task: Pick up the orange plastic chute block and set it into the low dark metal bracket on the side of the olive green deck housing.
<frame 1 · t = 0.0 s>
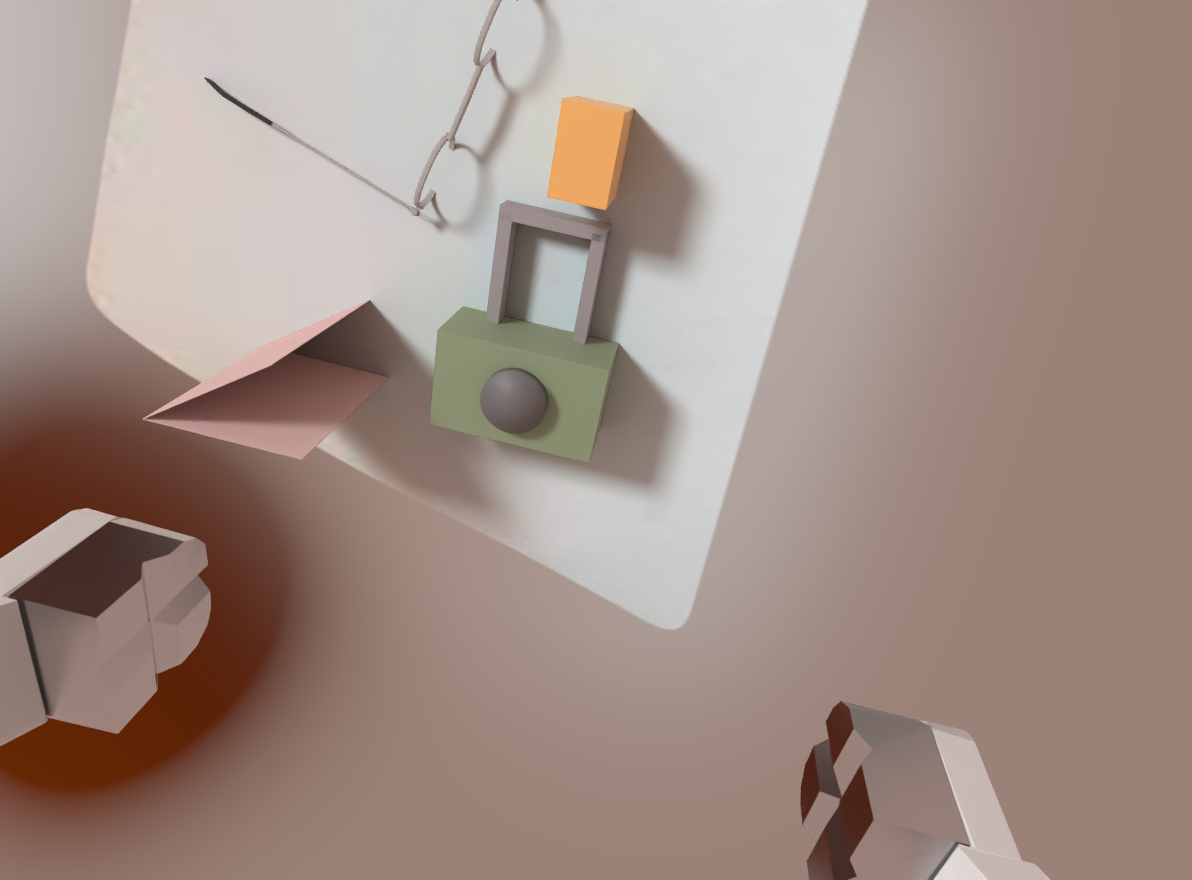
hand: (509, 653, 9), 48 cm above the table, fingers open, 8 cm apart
greeting card: (327, 330, 61), on the table
eyeglasses: (362, 31, 51), on the table
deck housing: (540, 324, 58), on the table
chute block: (597, 147, 51), on the table
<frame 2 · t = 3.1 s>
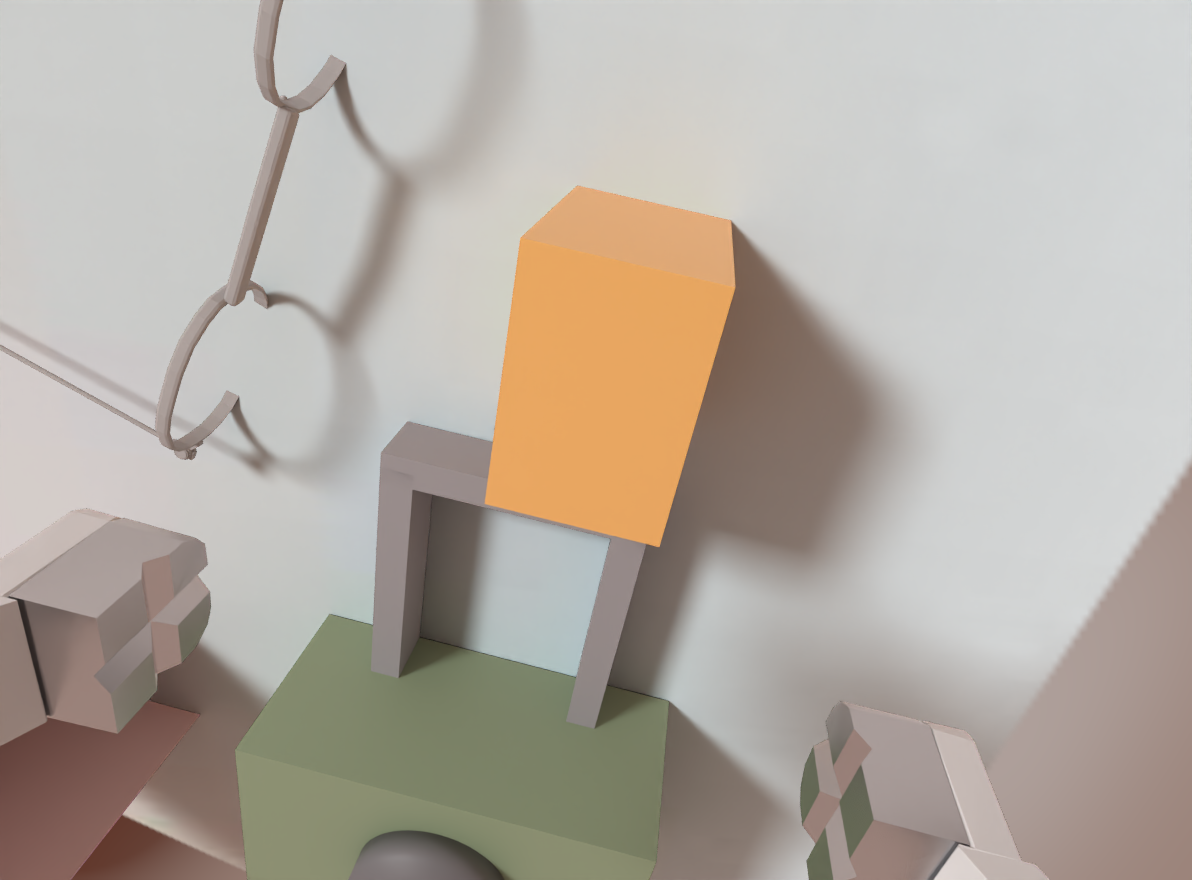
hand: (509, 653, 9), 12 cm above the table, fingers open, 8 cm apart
greeting card: (67, 630, 30), on the table
eyeglasses: (1, 8, 19), on the table
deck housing: (497, 657, 27), on the table
chute block: (629, 313, 20), on the table
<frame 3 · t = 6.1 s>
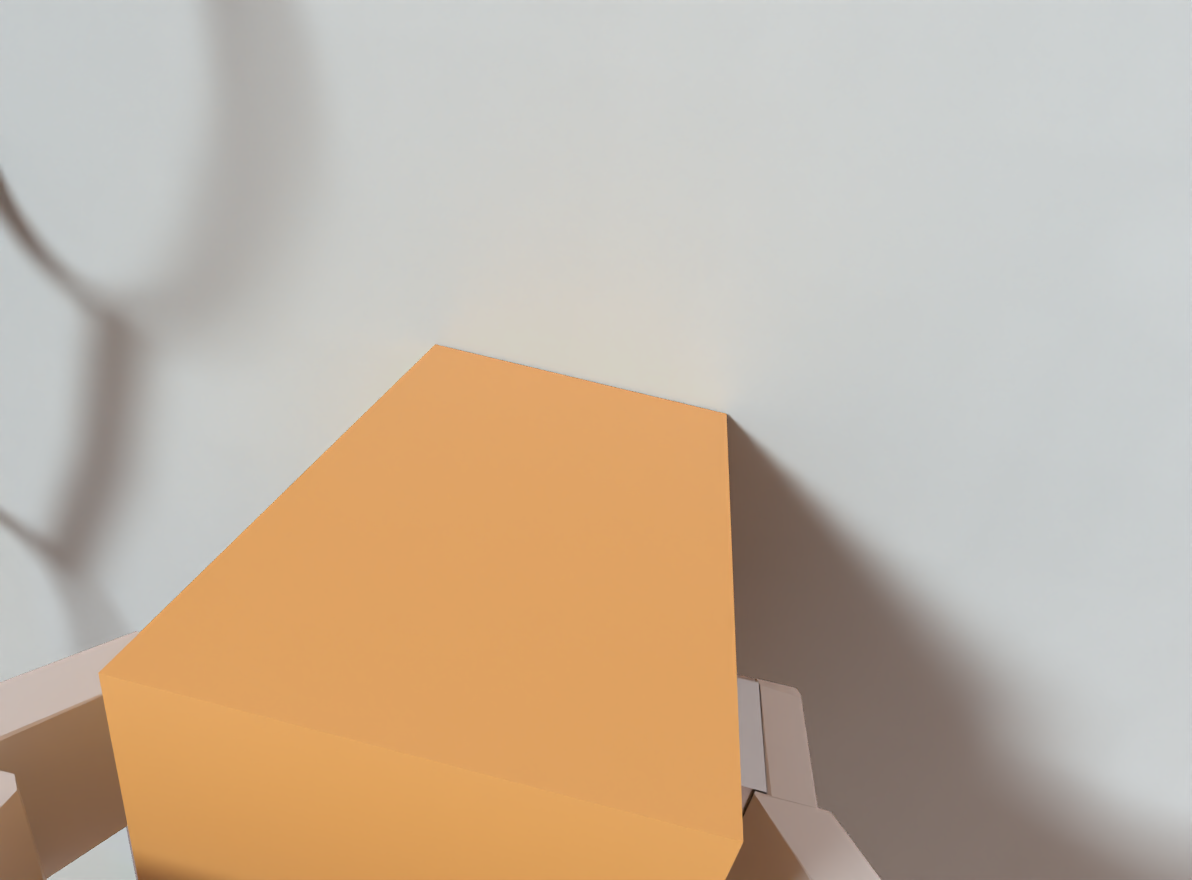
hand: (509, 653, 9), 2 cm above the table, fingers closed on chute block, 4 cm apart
chute block: (544, 555, 11), on the table, touching gripper
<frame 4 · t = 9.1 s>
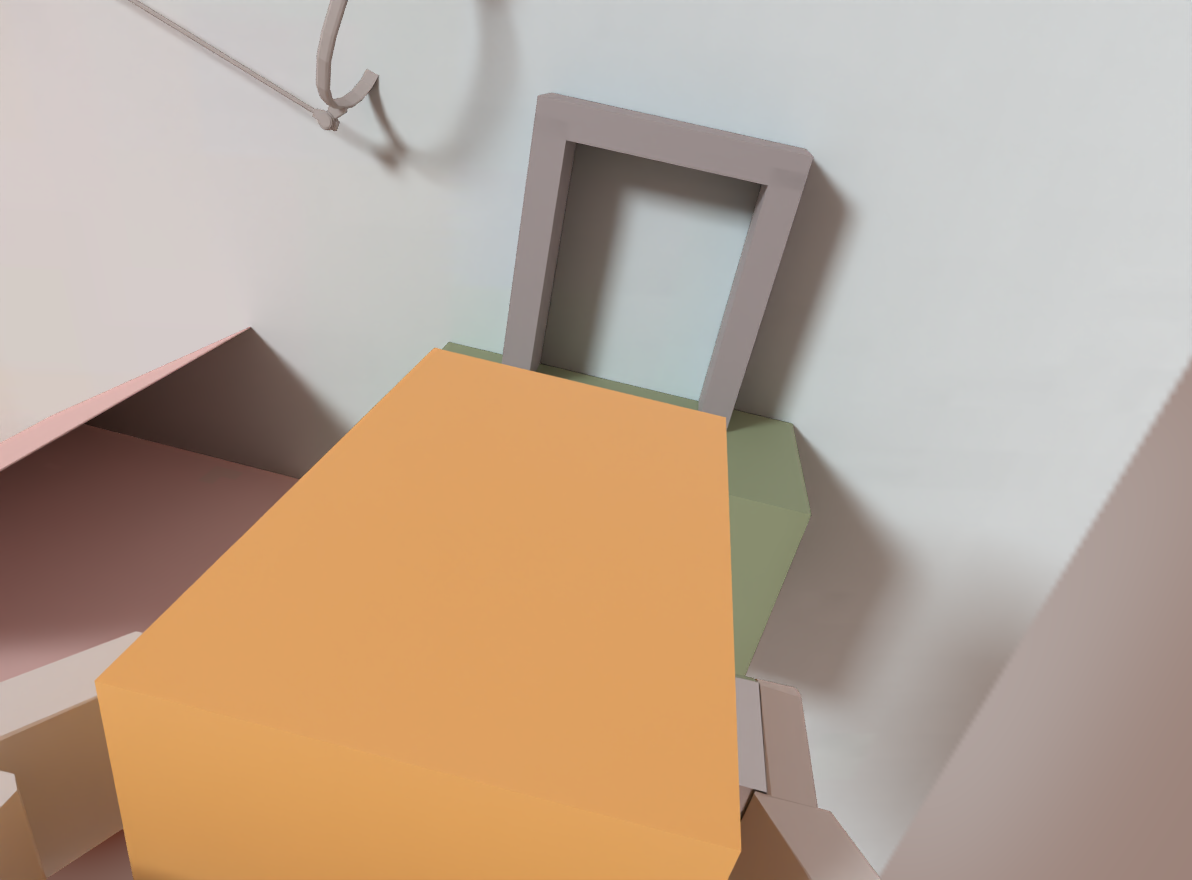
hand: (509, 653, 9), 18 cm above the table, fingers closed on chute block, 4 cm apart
greeting card: (173, 387, 30), on the table
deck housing: (618, 382, 26), on the table
chute block: (543, 558, 11), point 16 cm above the table, touching gripper
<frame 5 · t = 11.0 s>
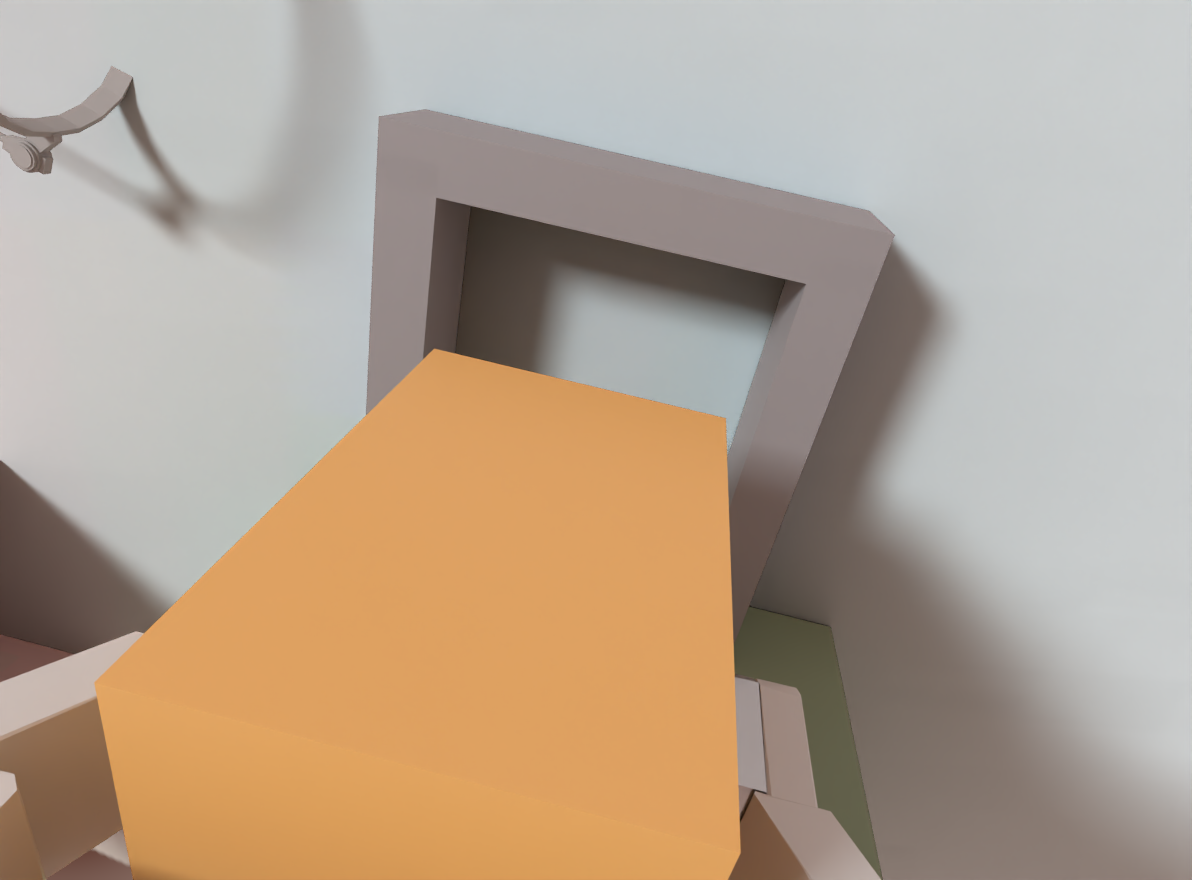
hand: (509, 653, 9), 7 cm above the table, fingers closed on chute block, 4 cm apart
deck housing: (559, 558, 17), on the table
chute block: (543, 559, 11), point 5 cm above the table, touching gripper
when the fingers open (4 cm above the table, at t = 12.4 s): chute block drops 2 cm, resting in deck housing.
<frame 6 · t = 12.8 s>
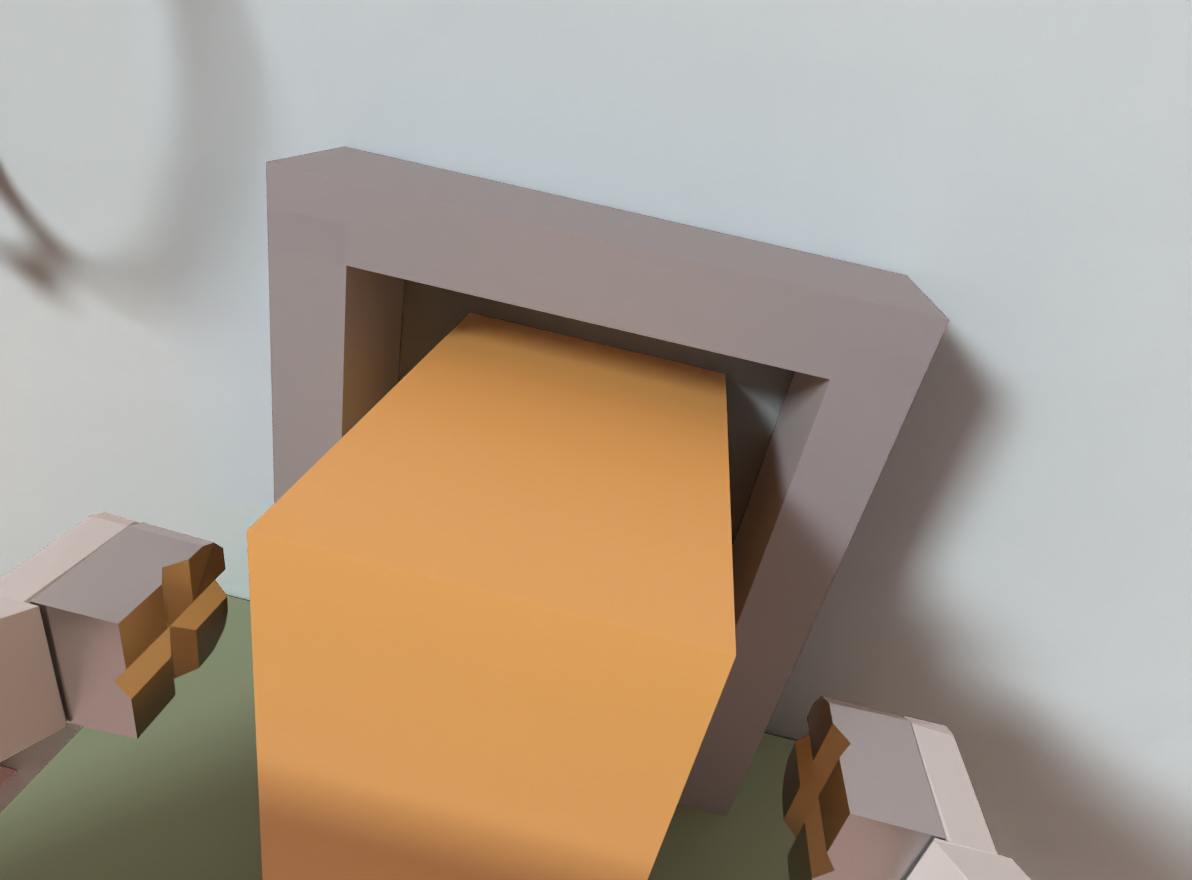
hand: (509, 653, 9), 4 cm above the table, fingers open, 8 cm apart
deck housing: (526, 672, 14), on the table
chute block: (563, 503, 12), resting in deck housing
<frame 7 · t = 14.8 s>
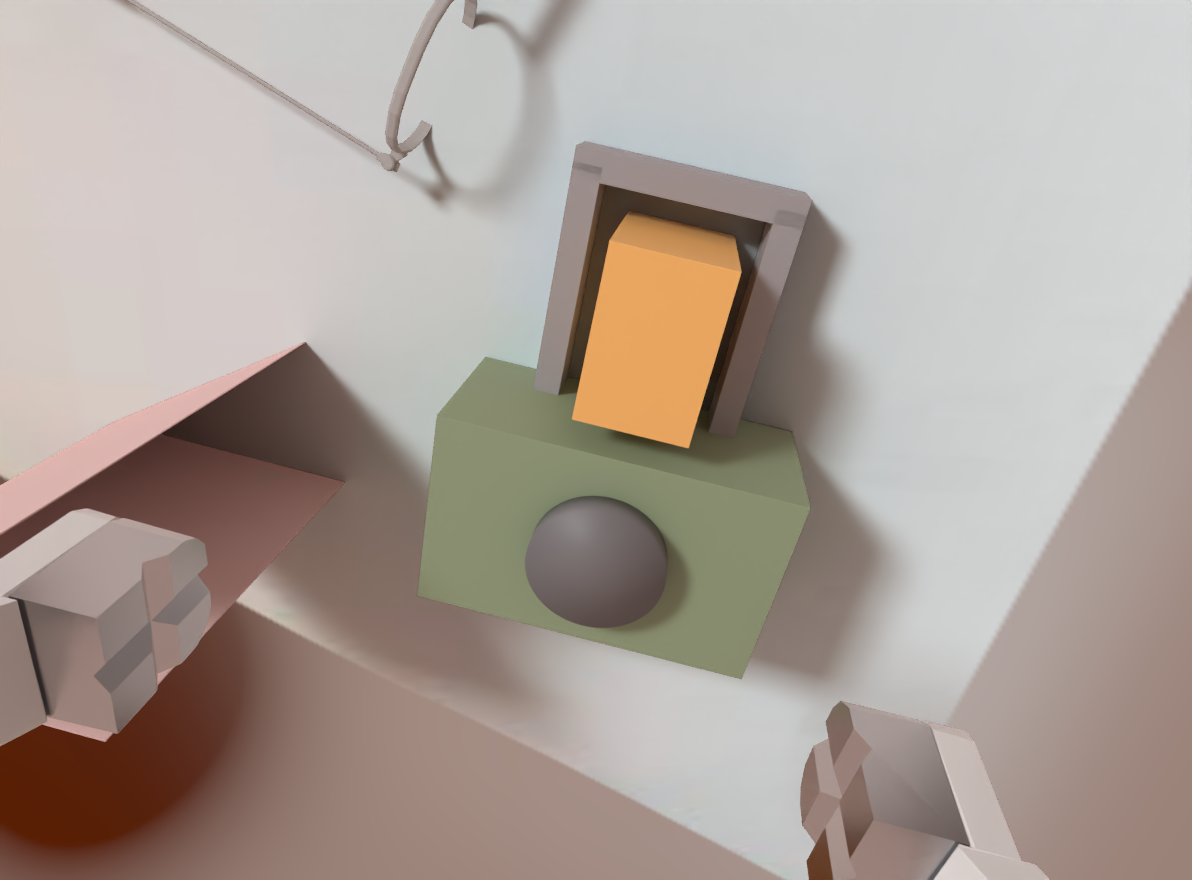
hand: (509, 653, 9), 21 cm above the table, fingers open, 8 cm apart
greeting card: (229, 396, 33), on the table
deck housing: (637, 394, 30), on the table
chute block: (661, 300, 28), resting in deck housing
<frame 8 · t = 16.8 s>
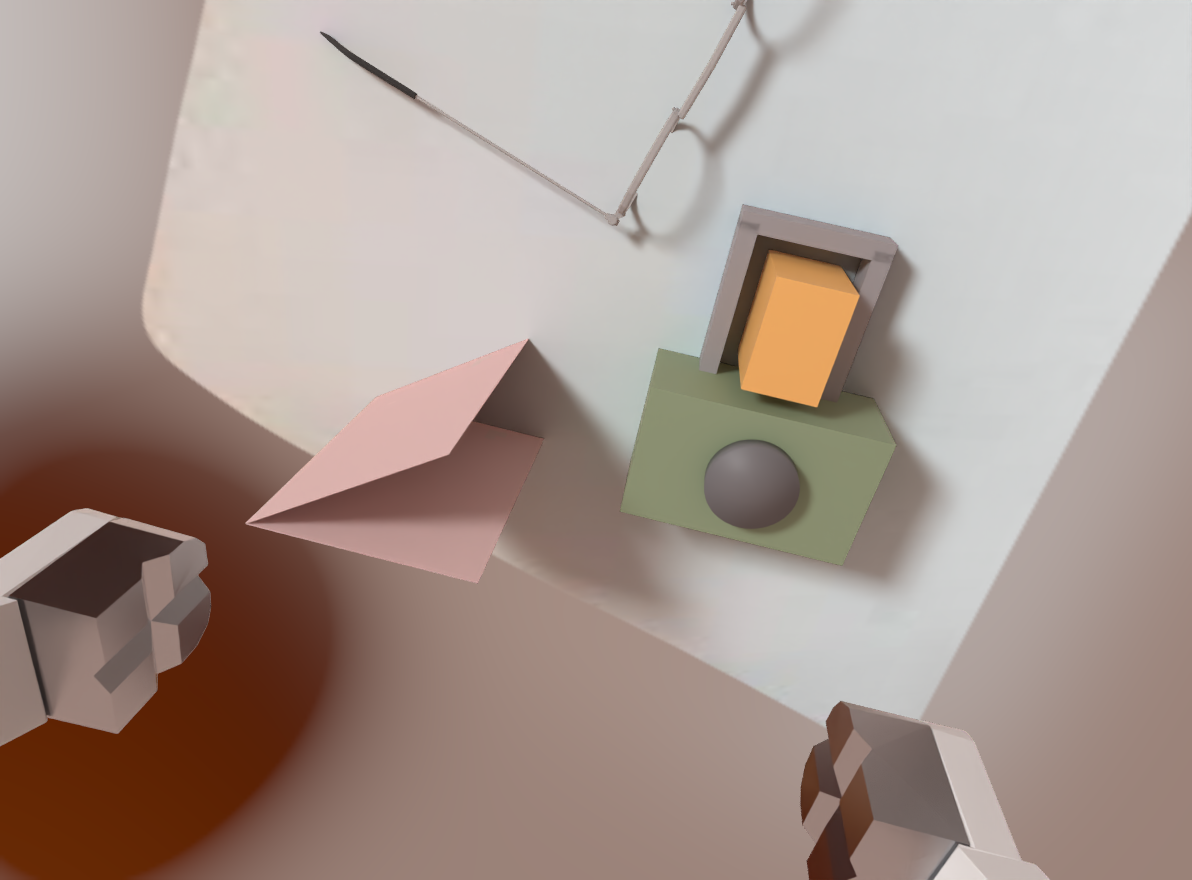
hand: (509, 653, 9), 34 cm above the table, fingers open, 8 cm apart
greeting card: (465, 378, 46), on the table
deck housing: (765, 373, 43), on the table
chute block: (787, 309, 41), resting in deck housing
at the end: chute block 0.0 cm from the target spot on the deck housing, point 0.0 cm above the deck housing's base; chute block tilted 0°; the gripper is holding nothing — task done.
